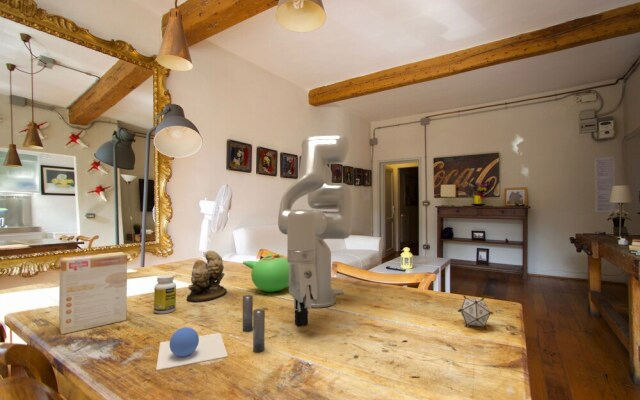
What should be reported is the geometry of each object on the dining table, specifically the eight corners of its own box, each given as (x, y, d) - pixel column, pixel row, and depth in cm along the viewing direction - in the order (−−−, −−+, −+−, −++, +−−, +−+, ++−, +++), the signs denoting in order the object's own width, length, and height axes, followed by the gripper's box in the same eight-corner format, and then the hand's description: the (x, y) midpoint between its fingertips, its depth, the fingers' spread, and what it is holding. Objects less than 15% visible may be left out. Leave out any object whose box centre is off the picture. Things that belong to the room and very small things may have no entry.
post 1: (251, 327, 85) (251, 294, 86) (253, 330, 83) (253, 296, 83) (241, 328, 84) (242, 295, 84) (243, 332, 82) (243, 298, 82)
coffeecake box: (121, 314, 96) (122, 251, 96) (127, 320, 91) (128, 253, 91) (57, 327, 85) (59, 256, 86) (60, 335, 80) (62, 259, 81)
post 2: (263, 346, 73) (263, 308, 74) (265, 351, 71) (265, 311, 71) (252, 348, 72) (252, 309, 73) (254, 353, 70) (254, 313, 70)
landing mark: (220, 333, 81) (220, 332, 81) (227, 356, 68) (227, 355, 68) (160, 343, 75) (160, 342, 75) (156, 370, 63) (156, 369, 63)
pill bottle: (166, 315, 95) (167, 278, 96) (149, 313, 97) (149, 278, 97) (179, 308, 101) (180, 274, 102) (163, 307, 103) (163, 273, 103)
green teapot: (273, 299, 112) (273, 258, 112) (240, 292, 121) (240, 254, 121) (302, 288, 127) (302, 252, 127) (271, 283, 136) (271, 249, 136)
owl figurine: (208, 289, 127) (209, 247, 127) (234, 291, 124) (235, 248, 124) (178, 301, 109) (179, 252, 110) (207, 304, 106) (208, 254, 107)
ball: (162, 345, 69) (185, 356, 72) (164, 354, 64) (189, 365, 67) (179, 319, 72) (201, 331, 74) (182, 326, 67) (206, 338, 69)
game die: (478, 338, 87) (497, 308, 88) (483, 338, 80) (503, 305, 81) (449, 317, 91) (467, 289, 93) (450, 315, 84) (470, 285, 85)
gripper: (325, 259, 78) (325, 333, 78) (304, 252, 92) (304, 314, 91) (297, 261, 75) (297, 338, 75) (279, 253, 89) (279, 318, 88)
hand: (301, 325), depth 83 cm, fingers closed
